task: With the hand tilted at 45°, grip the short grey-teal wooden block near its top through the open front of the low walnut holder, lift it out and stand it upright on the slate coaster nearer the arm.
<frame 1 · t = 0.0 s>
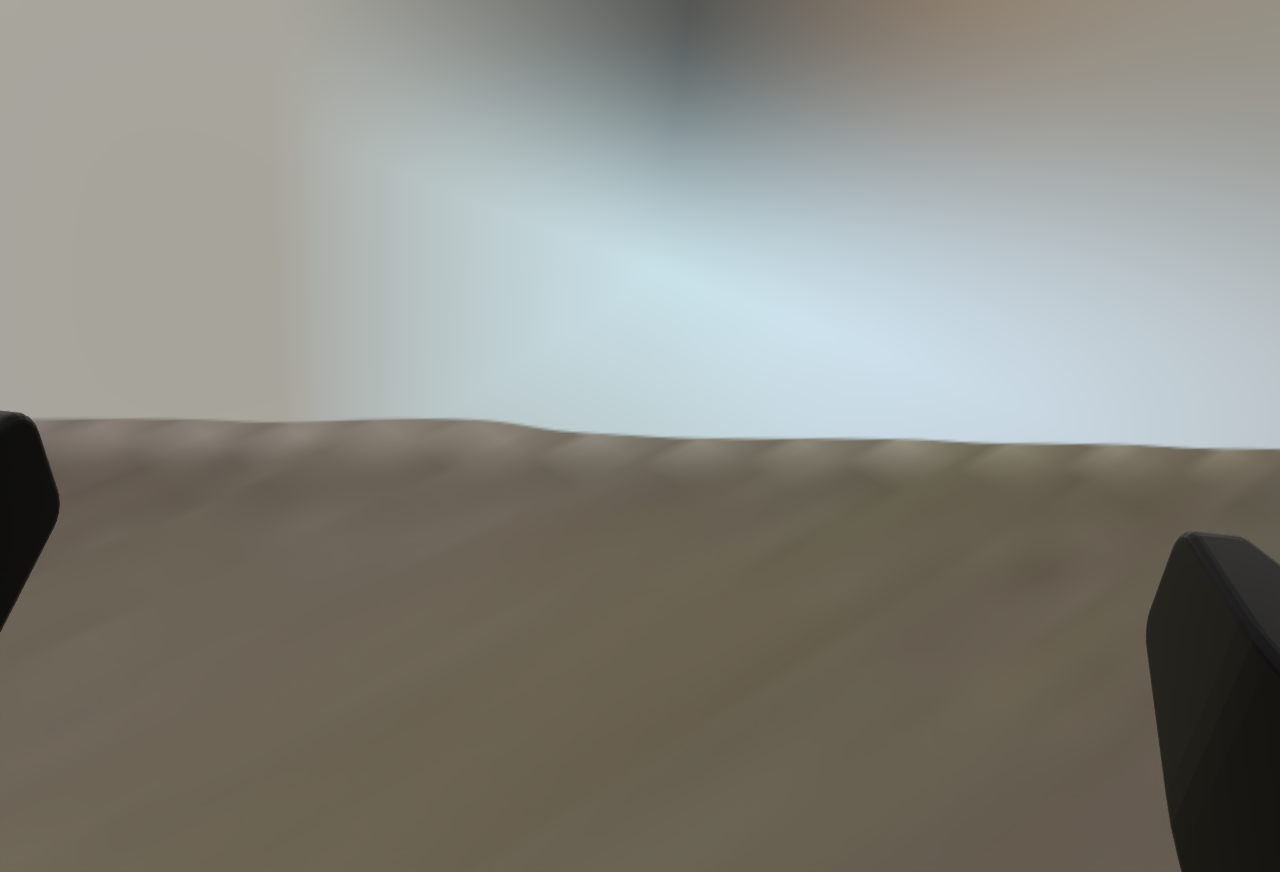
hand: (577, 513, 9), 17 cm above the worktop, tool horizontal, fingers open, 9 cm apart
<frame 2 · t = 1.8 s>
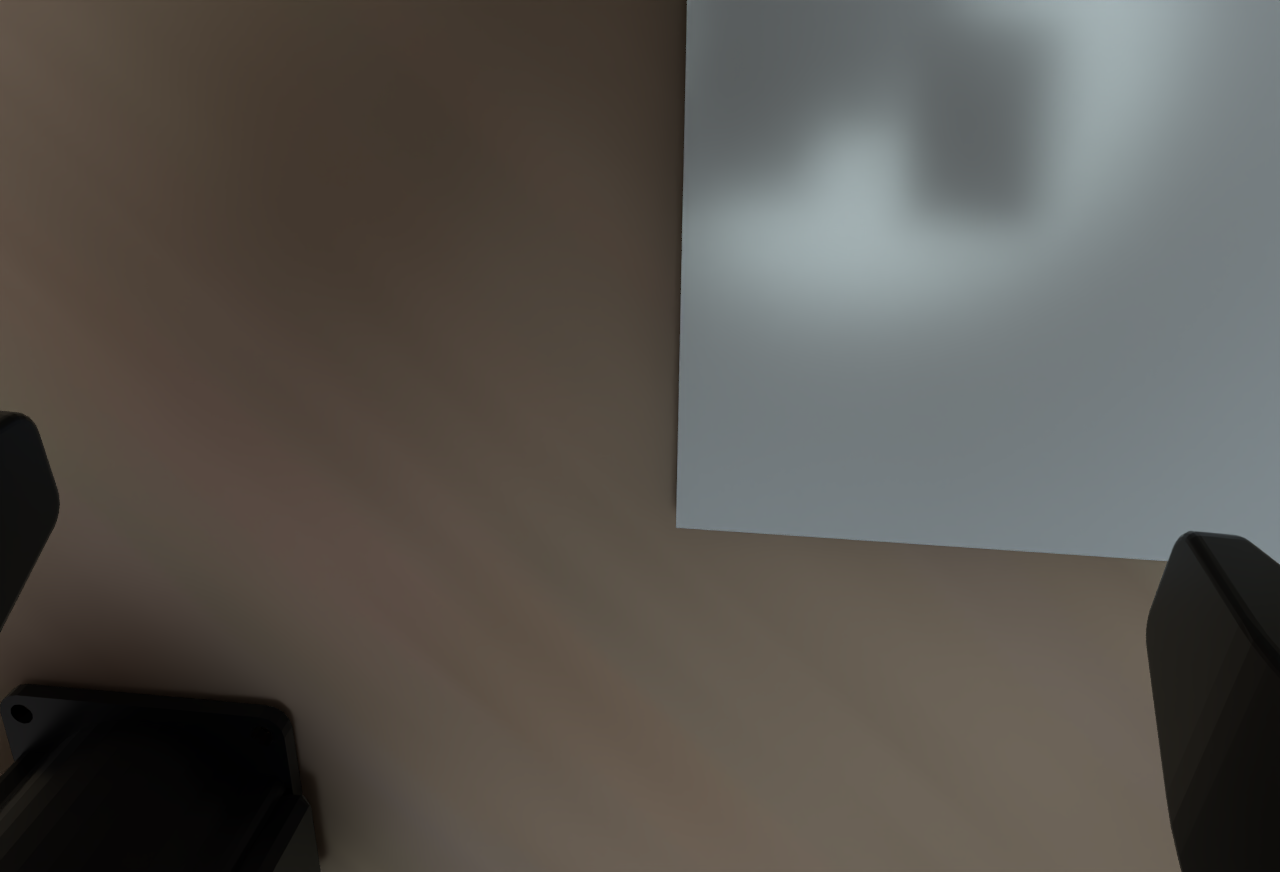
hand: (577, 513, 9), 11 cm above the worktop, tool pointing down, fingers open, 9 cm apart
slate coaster: (1022, 236, 19), on the worktop
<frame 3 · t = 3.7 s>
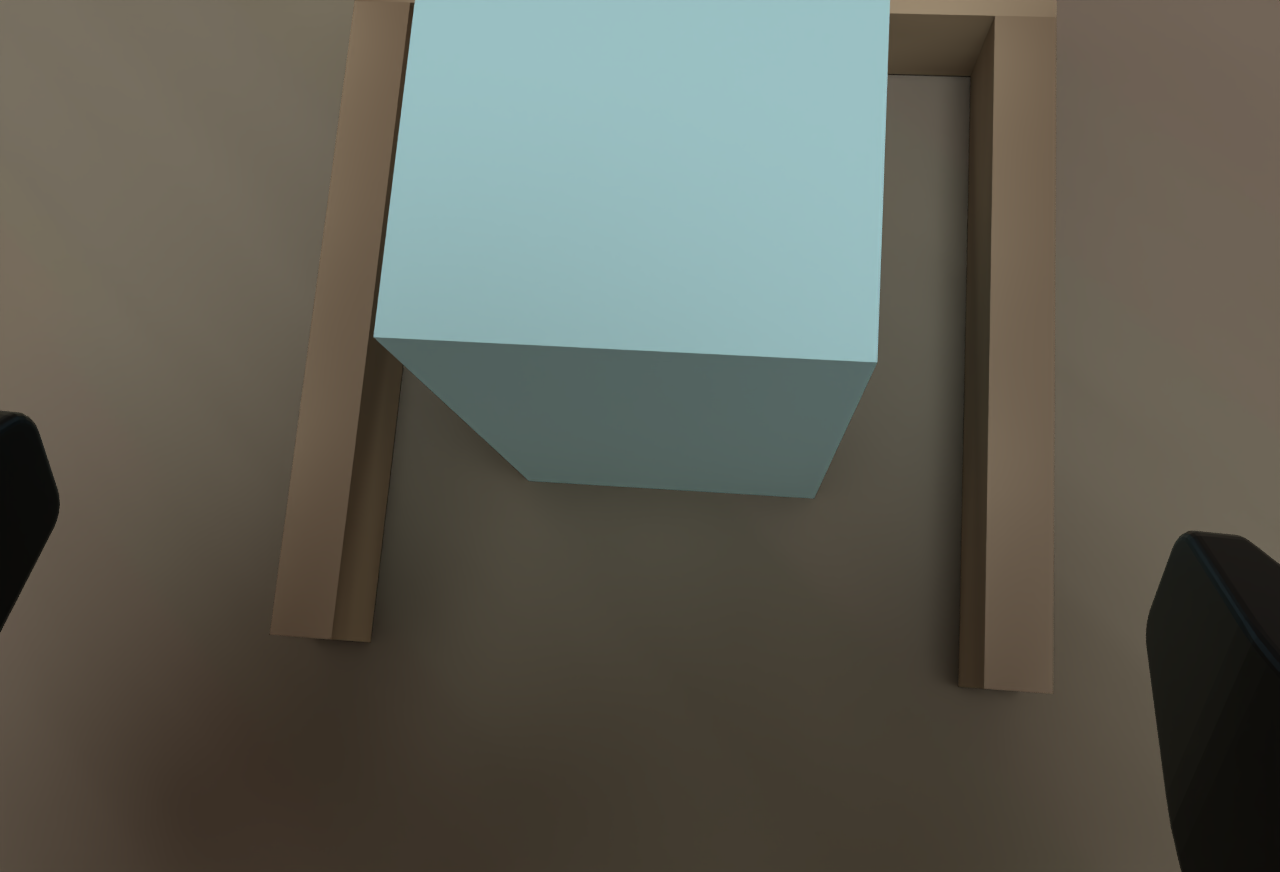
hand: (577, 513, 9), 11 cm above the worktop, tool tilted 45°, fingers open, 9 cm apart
walnut holder: (679, 351, 21), on the worktop
grey-teal block: (664, 265, 16), in the walnut holder
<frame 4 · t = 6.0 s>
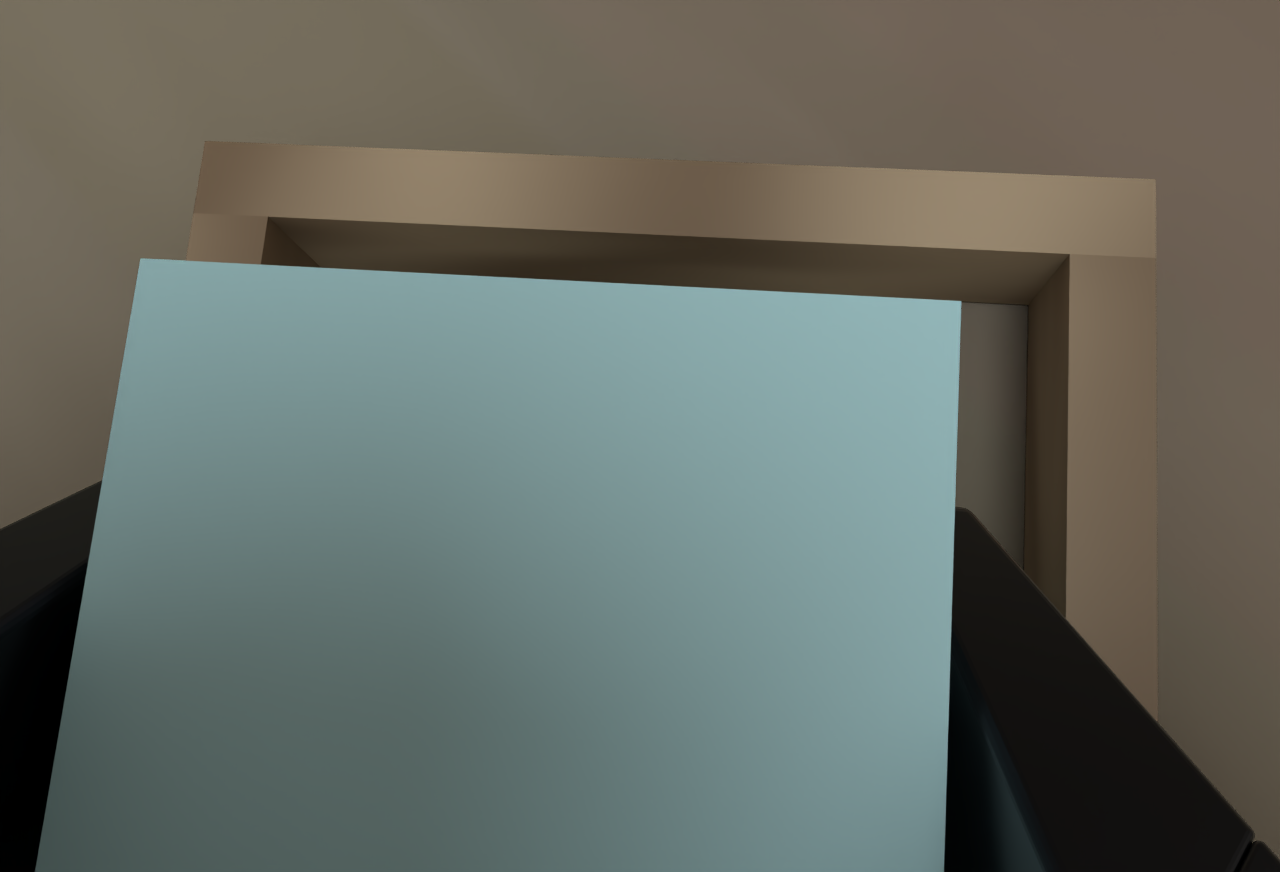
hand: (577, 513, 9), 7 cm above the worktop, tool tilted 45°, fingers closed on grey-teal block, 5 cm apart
walnut holder: (633, 683, 15), on the worktop
grey-teal block: (591, 689, 11), in the walnut holder, touching gripper
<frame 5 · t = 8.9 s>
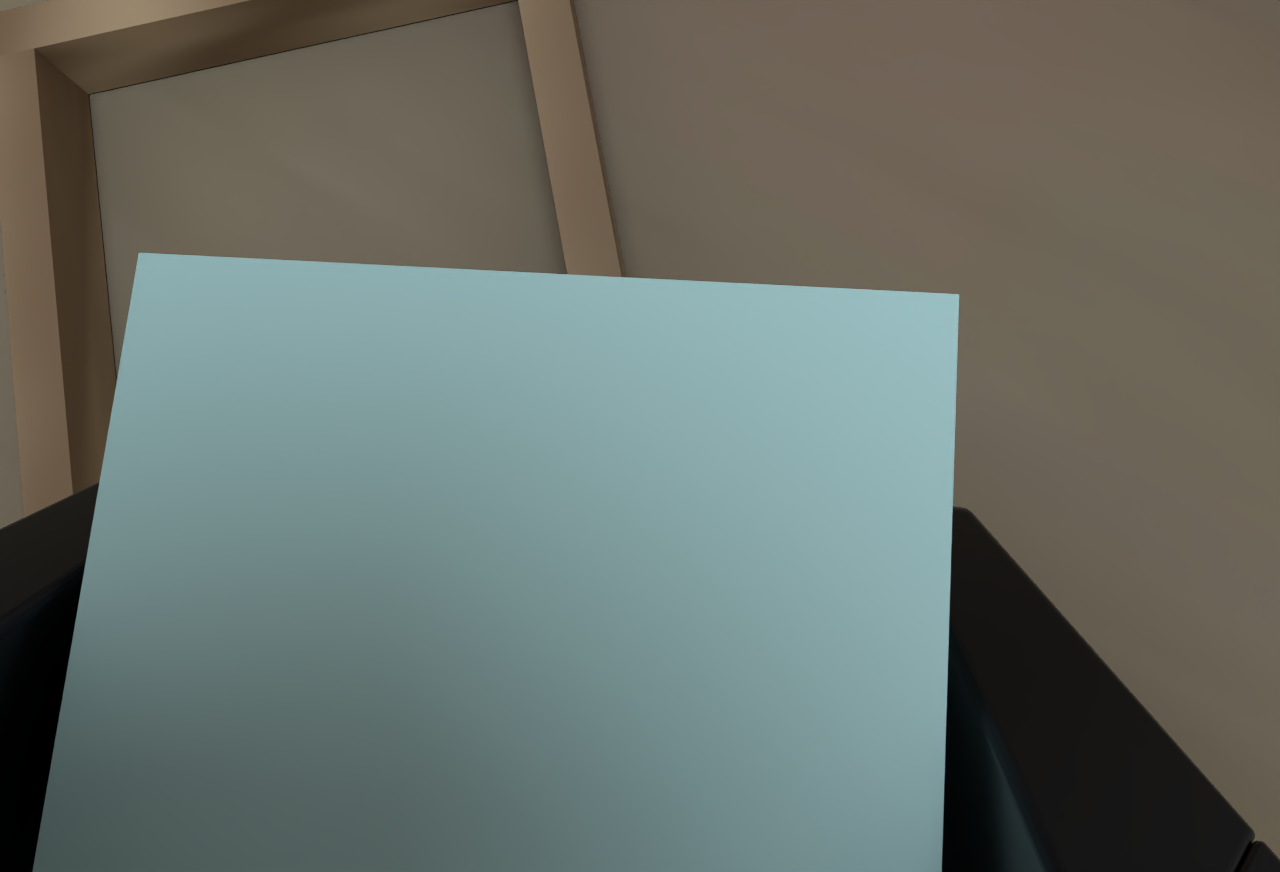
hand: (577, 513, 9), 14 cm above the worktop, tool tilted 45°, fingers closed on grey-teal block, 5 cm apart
walnut holder: (337, 280, 24), on the worktop
grey-teal block: (590, 685, 11), point 12 cm above the worktop, touching gripper
when the fingers open (8 cm above the worktop, at t = 11.8 s): grey-teal block stays where it is, resting on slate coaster.
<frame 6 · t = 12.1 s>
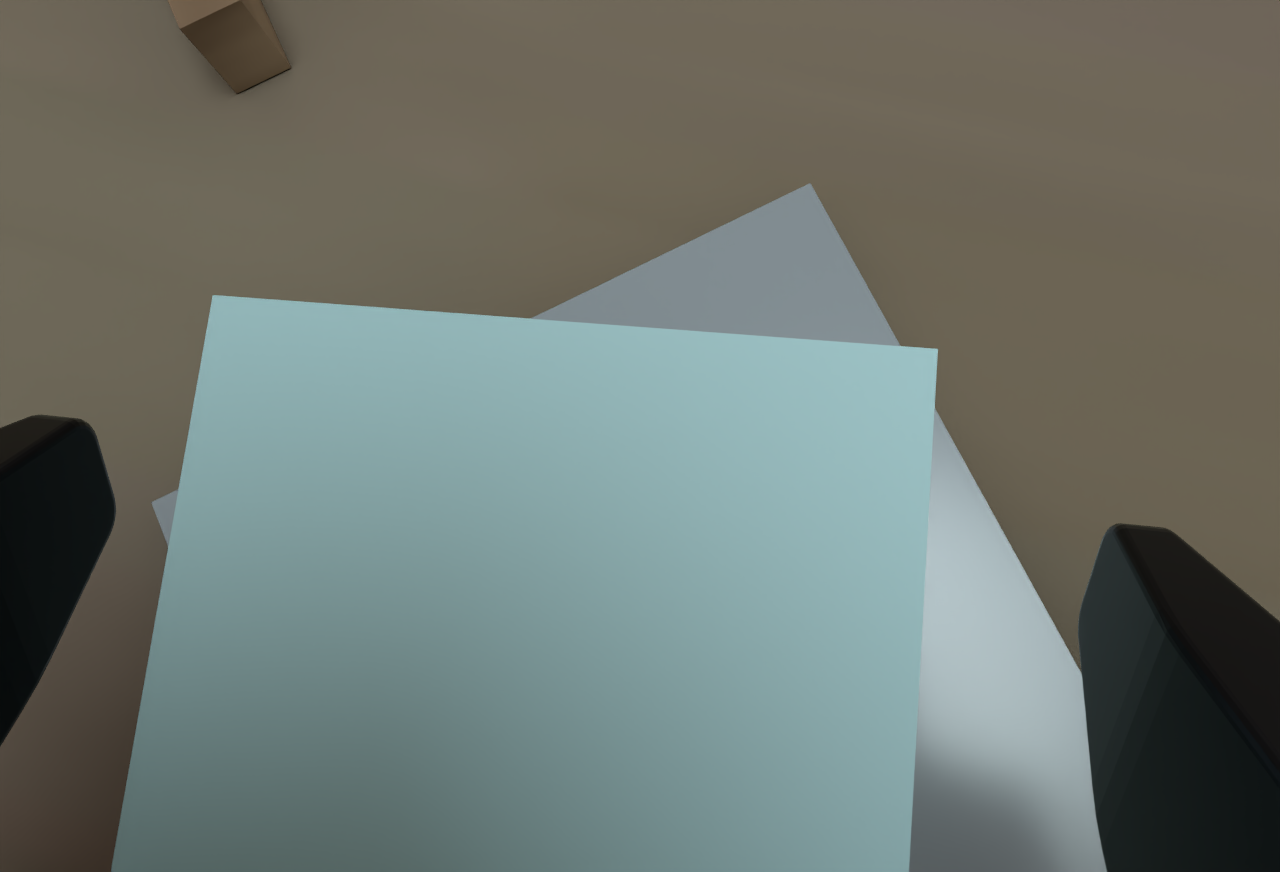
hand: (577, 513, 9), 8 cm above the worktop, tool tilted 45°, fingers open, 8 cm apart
grey-teal block: (601, 683, 12), on the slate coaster, point 5 cm above the worktop
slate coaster: (642, 679, 17), on the worktop
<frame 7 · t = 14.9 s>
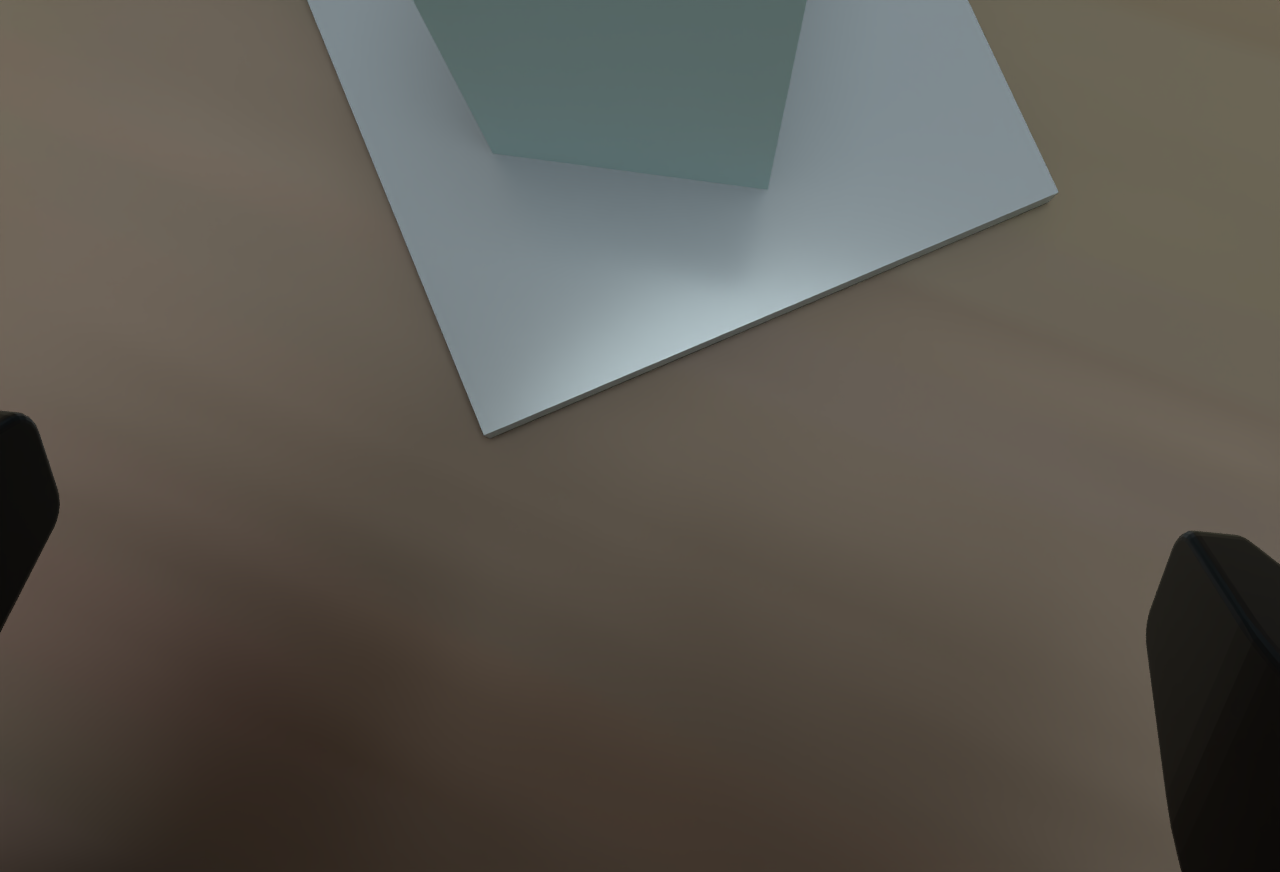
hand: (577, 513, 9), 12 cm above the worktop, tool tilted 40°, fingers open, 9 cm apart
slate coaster: (651, 53, 21), on the worktop
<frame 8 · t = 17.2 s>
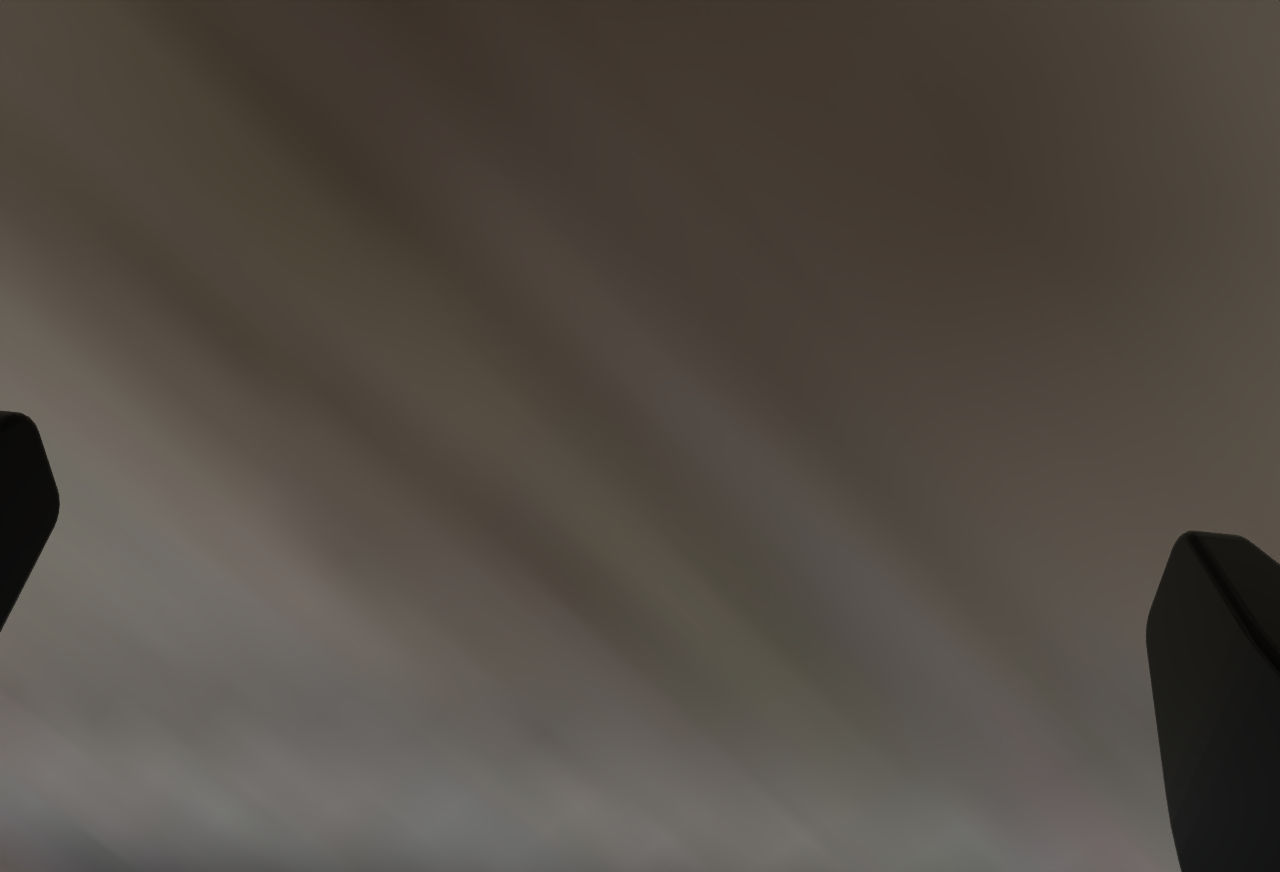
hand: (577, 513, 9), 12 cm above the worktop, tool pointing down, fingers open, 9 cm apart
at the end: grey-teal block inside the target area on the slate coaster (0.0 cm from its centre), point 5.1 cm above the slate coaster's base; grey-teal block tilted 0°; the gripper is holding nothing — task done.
